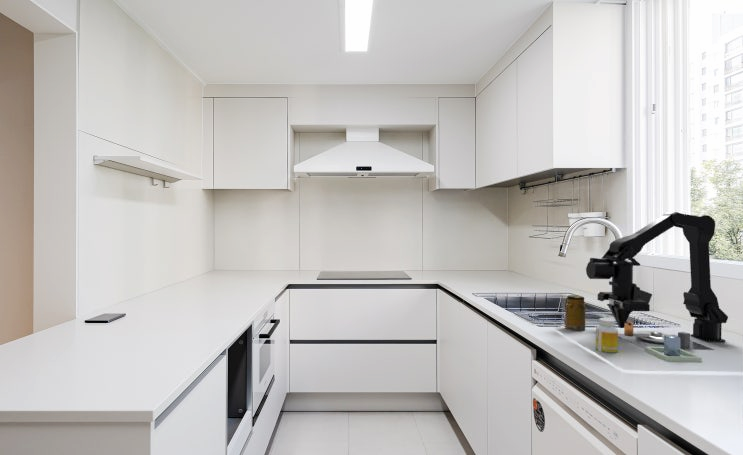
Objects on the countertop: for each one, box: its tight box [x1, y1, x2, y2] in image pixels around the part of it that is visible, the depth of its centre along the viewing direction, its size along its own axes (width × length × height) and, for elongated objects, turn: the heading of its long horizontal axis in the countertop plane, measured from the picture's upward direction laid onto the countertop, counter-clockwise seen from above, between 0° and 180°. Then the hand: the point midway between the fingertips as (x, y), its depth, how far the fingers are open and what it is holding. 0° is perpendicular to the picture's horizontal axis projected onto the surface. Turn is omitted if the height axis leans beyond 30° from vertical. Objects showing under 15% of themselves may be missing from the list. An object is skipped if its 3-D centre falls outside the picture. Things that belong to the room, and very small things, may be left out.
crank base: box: [618, 331, 715, 351], centre depth 126 cm, size 20×16×5 cm
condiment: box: [564, 294, 586, 332], centre depth 139 cm, size 7×8×12 cm
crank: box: [623, 321, 670, 343], centre depth 128 cm, size 15×11×5 cm
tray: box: [644, 347, 703, 363], centre depth 112 cm, size 9×9×2 cm
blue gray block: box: [663, 334, 681, 356], centre depth 112 cm, size 4×4×6 cm
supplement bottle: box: [595, 317, 619, 354], centre depth 116 cm, size 5×5×10 cm
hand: (621, 327), depth 132 cm, fingers closed
